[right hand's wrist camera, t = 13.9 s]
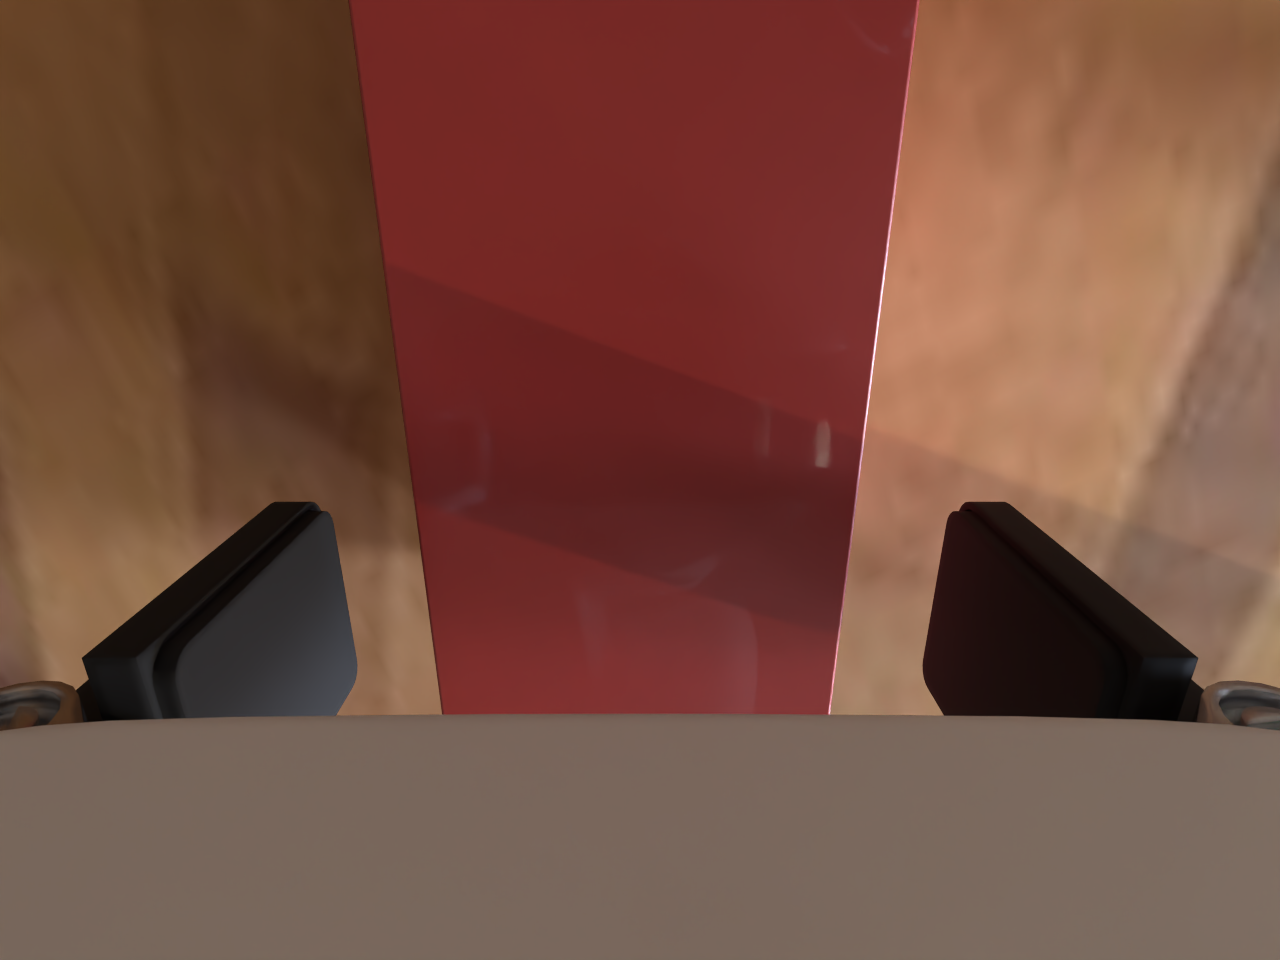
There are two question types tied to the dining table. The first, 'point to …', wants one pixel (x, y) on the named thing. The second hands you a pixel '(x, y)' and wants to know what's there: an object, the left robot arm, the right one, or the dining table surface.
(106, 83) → the dining table surface
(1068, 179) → the dining table surface
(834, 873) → the right robot arm
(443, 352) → the cabinet
